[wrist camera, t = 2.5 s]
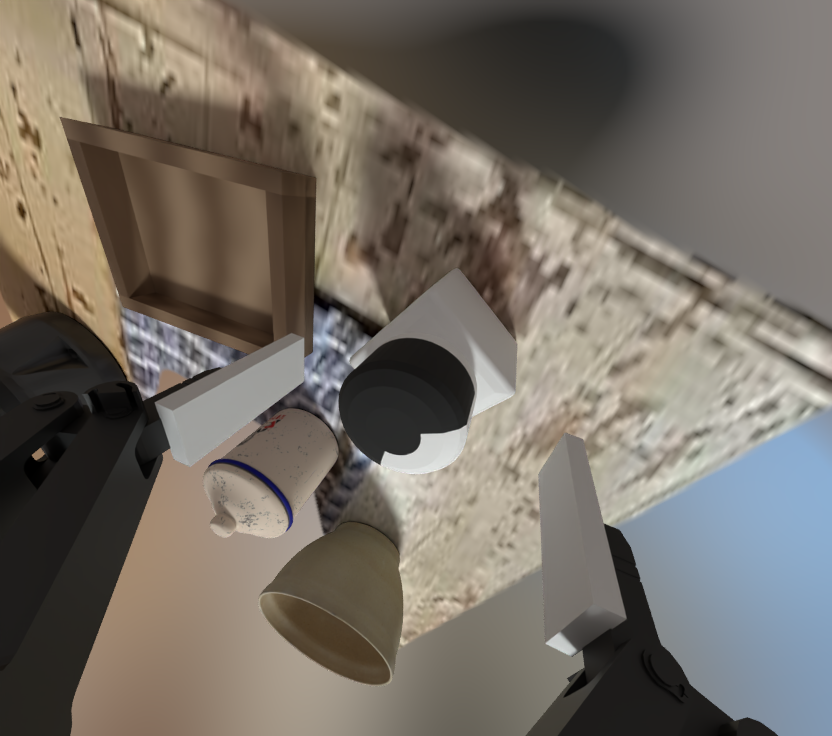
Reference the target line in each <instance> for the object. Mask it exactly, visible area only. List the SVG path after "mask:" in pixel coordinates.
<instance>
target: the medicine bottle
mask: <svg viewBox="0 0 832 736" xmlns="http://www.w3.org/2000/svg"><path fill="white" fill-rule="evenodd" d="M350 364H351V366H352V367H353V368H354V370H353V371H352V372H351V373H350V374H349V375H348V376H347V378H346V379H345V380H344V382H343V384H342V387H341V390H340V393H339V411H340V416H341V420H342V423H343V426H344V428H345V431H346V433H347V434H348V436H349V437H350V439H351V440H352V442H353V443H354V444H355V446H356V447H357V448H358V449H359V450H360V451H361V452H362V453H364V454H365V455H366V456H367V457H369V458H370V459H371V460H373V461H374V462H376V463H378V464H379V465H381V466H384V467H386V468H388V469H391V470H394V471H397V472H401V473H407V474H425V473H429V472H433V471H437V470H440V469H442V468H444V467H446V466H448V465H450V464H451V463H452V462H453V461H455V460H456V459H457V457H458V456H459V455H460V454H461V452H462V450H463V448H464V445H465V442H466V439H467V435H468V431H469V427H470V423H471V419H472V417H473V416H475V415H477V414H479V413H481V412H483V411H485V410H486V409H488V408H490V407H492V406H494V405H496V404H498V403H500V402H502V401H504V400H506V399H508V398H510V397H512V396H513V395H514V394H515V391H516V367H517V342H516V341H515V340H514V338H513V337H512V336H511V334H510V333H509V332H508V331H507V329H506V328H505V327H504V325H503V324H502V323H501V322H500V320H499V319H498V318H497V316H496V315H495V314H494V313H493V311H492V310H491V309H490V307H489V306H488V305H487V304H486V302H485V301H484V300H483V298H482V297H481V296H480V295H479V293H478V292H477V291H476V289H475V288H474V287H473V286H472V284H471V283H470V282H469V280H468V279H467V278H466V277H465V275H464V274H463V273H462V271H461V270H460V269H458V268H455V269H453V270H451V271H450V272H449V273H448V274H446V275H445V276H444V277H443V278H442V279H440V280H439V281H438V282H437V283H435V284H434V285H433V286H432V287H430V288H429V289H428V290H427V291H426V292H424V293H423V294H422V295H421V296H420V297H419V298H418V299H416V300H415V301H414V302H413V303H412V304H411V305H410V306H408V307H407V308H406V309H405V310H404V311H403V312H402V313H401V314H399V315H398V316H397V317H396V318H395V319H394V320H393V321H391V322H390V323H389V324H388V325H387V326H386V327H385V328H383V329H382V330H381V331H380V332H379V333H378V334H377V335H375V336H374V337H373V338H372V339H371V340H370V341H369V342H368V343H366V344H365V345H364V346H363V347H362V348H361V349H360V350H358V351H357V352H356V353H355V354H354V355H353V356H352V357H351V358H350Z"/></svg>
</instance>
